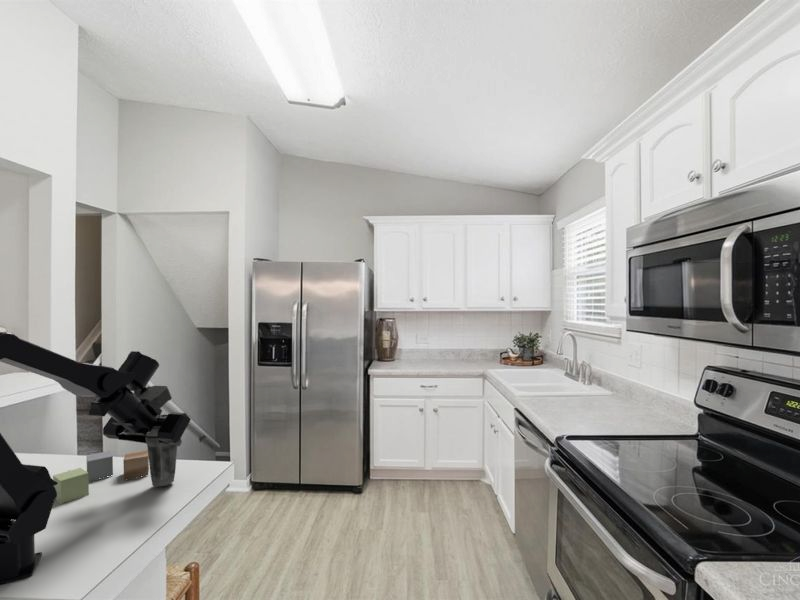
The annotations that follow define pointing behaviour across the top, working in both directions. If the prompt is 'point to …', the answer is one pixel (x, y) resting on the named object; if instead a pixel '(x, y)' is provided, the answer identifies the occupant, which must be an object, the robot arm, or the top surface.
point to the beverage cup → (160, 458)
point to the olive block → (71, 485)
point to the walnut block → (136, 464)
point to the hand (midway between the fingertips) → (167, 443)
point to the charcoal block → (99, 465)
